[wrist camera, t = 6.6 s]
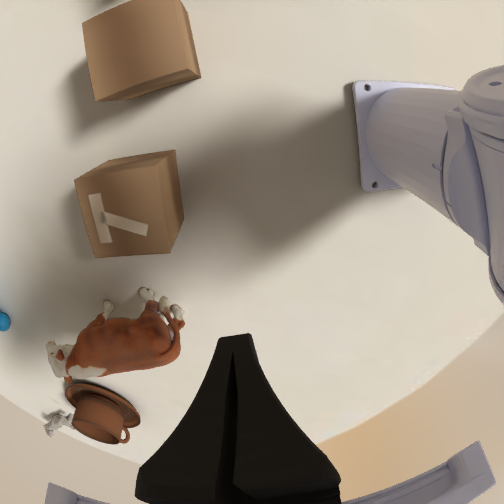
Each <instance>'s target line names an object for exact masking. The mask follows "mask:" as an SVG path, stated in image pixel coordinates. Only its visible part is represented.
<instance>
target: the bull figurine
mask: <svg viewBox="0 0 504 504" xmlns="http://www.w3.org/2000/svg"><path fill="white" fill-rule="evenodd" d="M139 295H140V296H141V297H142V299H144V300H145V310H144V311H143V313H142V314H141V315H140V317H139V318H138V319H133V320H131V319H128V318H113V319H109V320H107V321H106V319H107V317H108V315H109V314H110V313H111V312H112V311H114V307H113V304H112V303H110V301H108V300H105V301H104V302H103V303H104V311H103V313H101V314H99V315H98V316H97V318H96V319H95V320H94V321H92V322H91V323H90V324H89V325H88V326H87V327H86V328H85V329H84V330H83V331H81V333H80V334H79V336H78V338H77V341H76V344H75V345H69V344H66V345H63V346H62V345H56V344H55V342H54V341H49V342H48V344H46V348H47V352H48V360H49V363H50V365H51V367H52V369H53V372H54V374H55V376H57V377H59V378H61V377H64V379H65V381H66V382H67V383H68V384H71V383H72V377H74V378H76V379H85V378H88V377H103V376H106V375H110V374H114V373H121V372H128V371H133V370H145V369H151V368H155V367H159V366H164V365H167V364H169V363H171V362H173V361H174V360H175V359H176V358H177V357H178V356H179V354H180V350H181V346H180V334H179V330H180V329H181V328H183V327H184V325H185V322H184V320H183V314H184V312H185V311H184V310H183V309H182V308H180V307H179V306H178V305H172V306H171V310H172V312H173V314H174V318H173V319H172V318H171V316H170V311H169V303H168V298H166V297H165V296H162V297H161V298H160V300H159V302H156V301H155V299H154V293H153V292H152V290H151V289H150V290H147V289H146V288H140V289H139ZM159 311H160V312H161V313H162V314H163V315H164V316H165V317H166V319H167V321H168V322H169V324H168V325H166V323H165V321H164V319H163V317H162V316H161V314H158V315H157V312H159Z"/></svg>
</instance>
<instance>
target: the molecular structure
mask: <svg viewBox="0 0 504 504" xmlns="http://www.w3.org/2000/svg"><path fill="white" fill-rule="evenodd" d="M9 327H10V319H9V317H8V316H7V315H6V314H5V313H0V330H1V331H6V330H8V329H9Z"/></svg>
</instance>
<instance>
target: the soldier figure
mask: <svg viewBox="0 0 504 504" xmlns="http://www.w3.org/2000/svg"><path fill="white" fill-rule="evenodd" d="M73 416H74V415H73V414H70V416H69V418H68V419H67V418H66V417H64V416H63V415H55V416H53V417H52V420H51V421H50V422H49V423H47V424H45V425H43V426H44V428H45V430H46V433H47V434H48V435H49V436H50V434H52V435H53V430H56V429H58V428H61V427H62V425H66V426H68V427H70V428H72V429H75V428H74V427H73V426H71V422H72V419H73ZM50 437H51V436H50Z"/></svg>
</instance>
